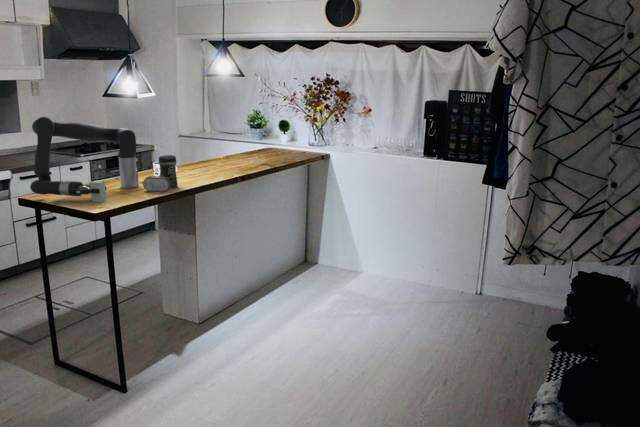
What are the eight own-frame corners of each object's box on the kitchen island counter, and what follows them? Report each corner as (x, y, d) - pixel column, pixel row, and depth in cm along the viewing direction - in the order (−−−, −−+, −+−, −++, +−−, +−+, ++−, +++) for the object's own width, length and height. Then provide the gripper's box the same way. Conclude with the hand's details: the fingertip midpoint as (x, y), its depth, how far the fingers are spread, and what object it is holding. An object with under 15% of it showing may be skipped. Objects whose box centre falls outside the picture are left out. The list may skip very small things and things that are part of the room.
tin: (171, 190, 299) (170, 176, 297) (170, 192, 296) (169, 177, 294) (144, 190, 299) (143, 175, 297) (143, 191, 296) (141, 177, 294)
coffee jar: (165, 189, 302) (163, 157, 297) (157, 187, 307) (155, 155, 302) (180, 187, 309) (178, 155, 304) (172, 184, 314) (170, 153, 309)
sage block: (97, 199, 274) (95, 180, 271) (106, 199, 274) (104, 180, 271) (92, 201, 269) (90, 182, 267) (101, 202, 269) (99, 182, 266)
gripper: (62, 184, 263) (94, 185, 262) (78, 178, 277) (108, 179, 276) (64, 198, 265) (96, 200, 264) (79, 192, 279) (110, 193, 278)
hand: (102, 189), depth 270 cm, fingers open, 6 cm apart
